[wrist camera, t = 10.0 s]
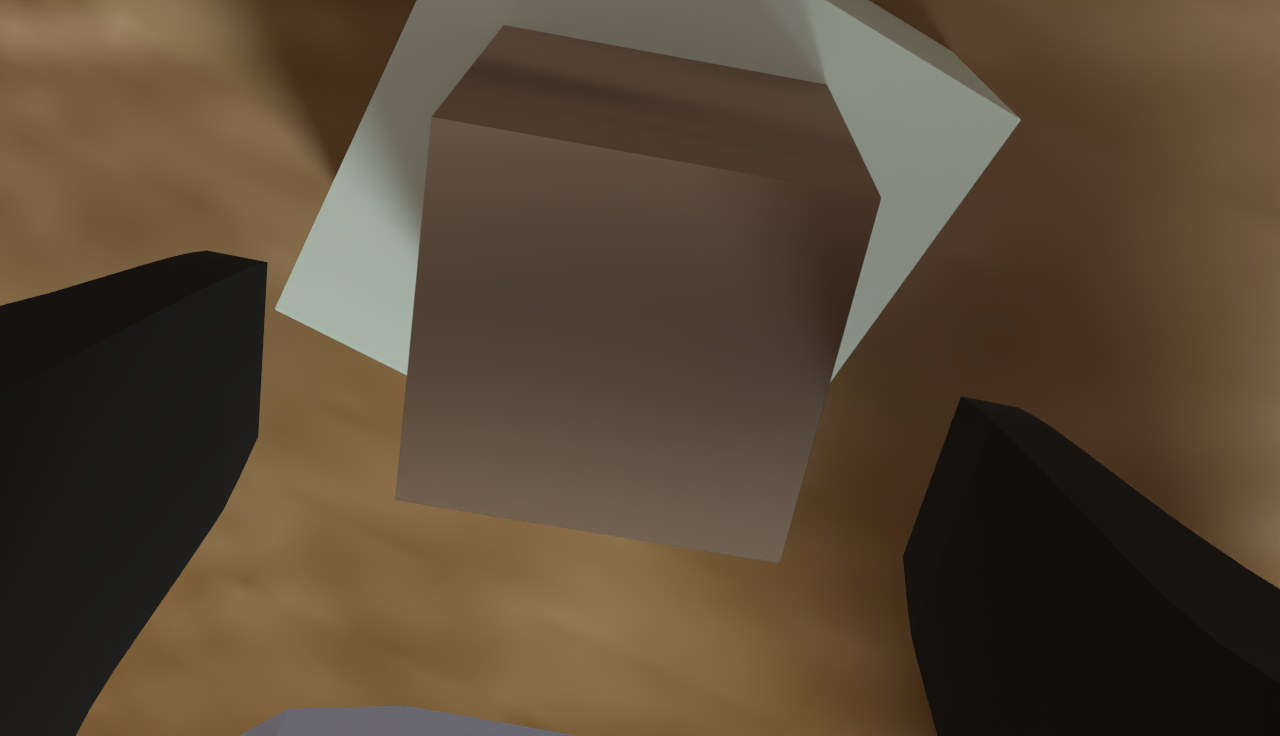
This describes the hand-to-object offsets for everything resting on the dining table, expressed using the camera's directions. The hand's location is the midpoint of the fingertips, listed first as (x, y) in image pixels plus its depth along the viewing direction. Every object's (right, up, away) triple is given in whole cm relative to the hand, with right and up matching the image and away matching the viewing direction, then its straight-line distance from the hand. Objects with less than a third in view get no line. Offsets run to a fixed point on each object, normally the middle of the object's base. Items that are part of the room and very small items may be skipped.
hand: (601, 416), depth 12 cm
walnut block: (0, +3, +5) cm, 6 cm away
